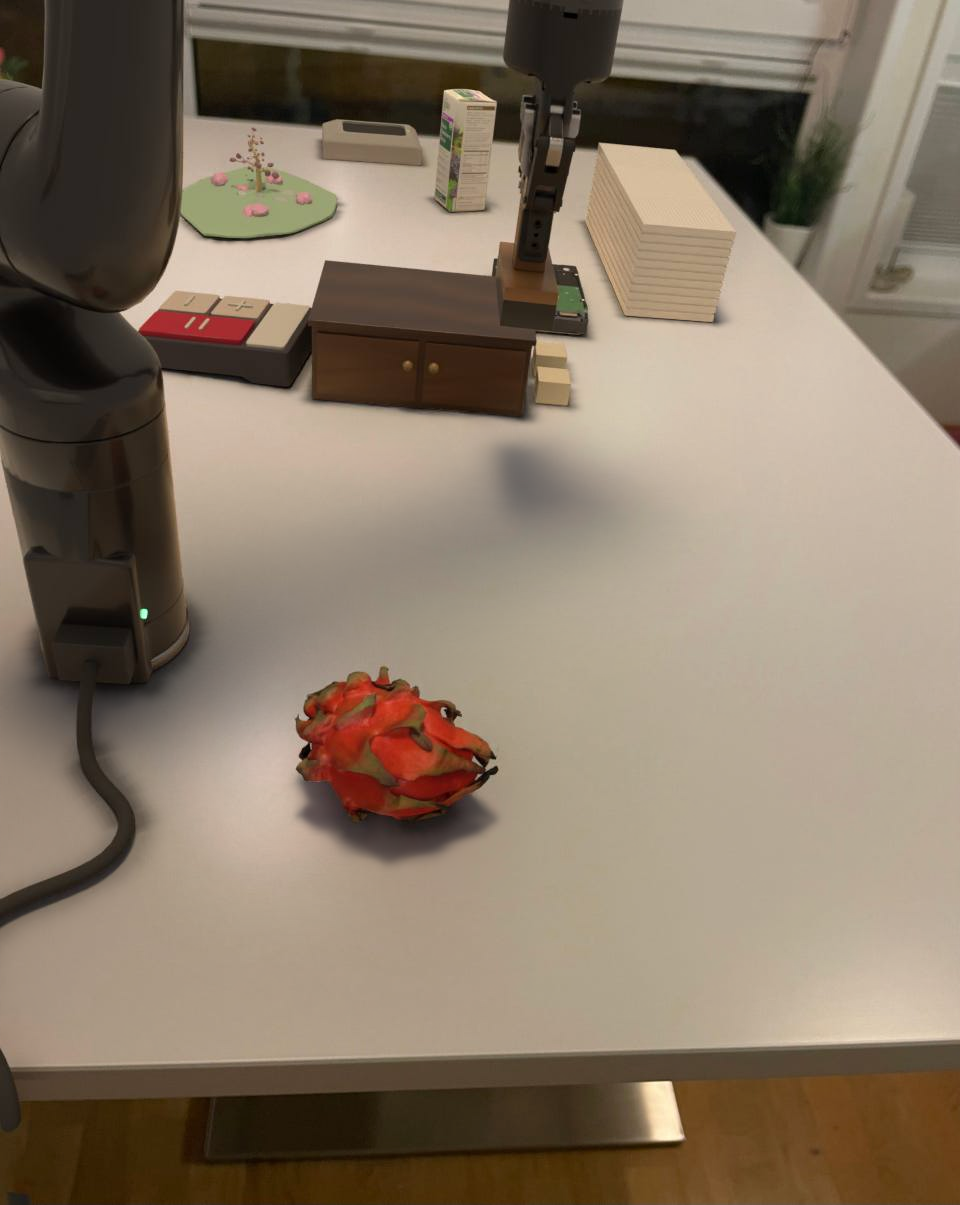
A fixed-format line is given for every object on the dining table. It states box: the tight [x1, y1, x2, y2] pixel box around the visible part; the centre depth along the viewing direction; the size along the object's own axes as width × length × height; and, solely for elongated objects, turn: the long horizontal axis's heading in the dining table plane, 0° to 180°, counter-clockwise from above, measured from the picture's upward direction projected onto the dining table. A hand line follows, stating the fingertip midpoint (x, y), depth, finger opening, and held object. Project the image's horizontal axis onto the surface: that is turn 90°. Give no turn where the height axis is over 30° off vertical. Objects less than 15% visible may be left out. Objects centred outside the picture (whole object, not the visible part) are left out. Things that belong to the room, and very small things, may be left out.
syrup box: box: [434, 88, 498, 213], centre depth 140 cm, size 6×6×14 cm
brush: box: [495, 179, 559, 331], centre depth 77 cm, size 10×4×9 cm, turn 1°
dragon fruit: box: [294, 665, 500, 823], centre depth 58 cm, size 8×8×12 cm
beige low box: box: [321, 118, 423, 166], centre depth 158 cm, size 10×4×15 cm
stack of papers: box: [585, 142, 737, 323], centre depth 129 cm, size 32×11×11 cm, turn 4°
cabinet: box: [308, 259, 538, 417], centre depth 99 cm, size 15×21×8 cm
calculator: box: [137, 290, 312, 387], centre depth 100 cm, size 11×4×15 cm
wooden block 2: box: [533, 367, 572, 407], centre depth 100 cm, size 3×3×2 cm
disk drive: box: [491, 257, 589, 335], centre depth 118 cm, size 10×3×15 cm
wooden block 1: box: [531, 340, 568, 377], centre depth 105 cm, size 3×3×2 cm
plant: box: [180, 127, 338, 239], centre depth 132 cm, size 25×21×9 cm
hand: (529, 252), depth 78 cm, fingers closed on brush, 2 cm apart
